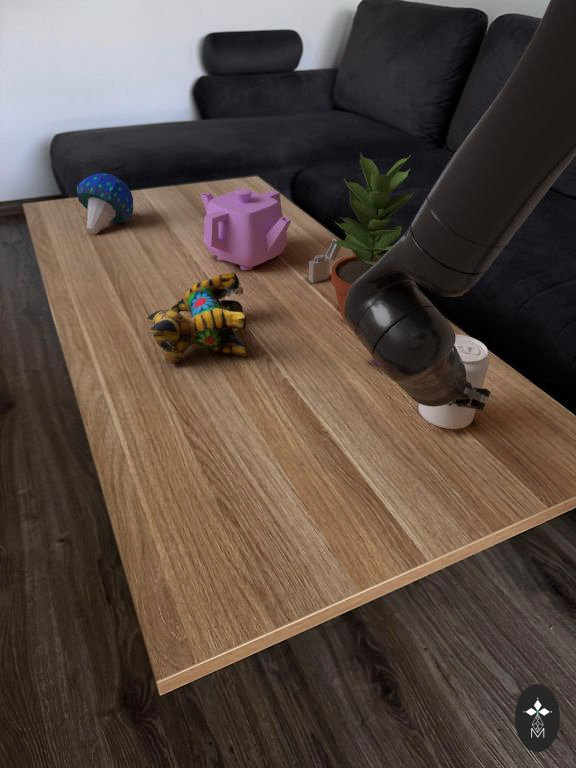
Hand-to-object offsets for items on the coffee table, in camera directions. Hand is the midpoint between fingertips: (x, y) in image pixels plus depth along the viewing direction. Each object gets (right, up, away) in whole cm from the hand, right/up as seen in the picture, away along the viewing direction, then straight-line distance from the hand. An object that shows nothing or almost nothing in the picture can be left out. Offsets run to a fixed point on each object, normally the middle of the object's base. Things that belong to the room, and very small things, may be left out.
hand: (449, 397), depth 83 cm
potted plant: (-8, +15, +30) cm, 35 cm away
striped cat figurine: (-38, +9, +22) cm, 45 cm away
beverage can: (+1, -3, +6) cm, 7 cm away
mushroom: (-67, +41, +65) cm, 102 cm away
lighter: (-15, +24, +43) cm, 51 cm away
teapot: (-32, +30, +50) cm, 67 cm away
